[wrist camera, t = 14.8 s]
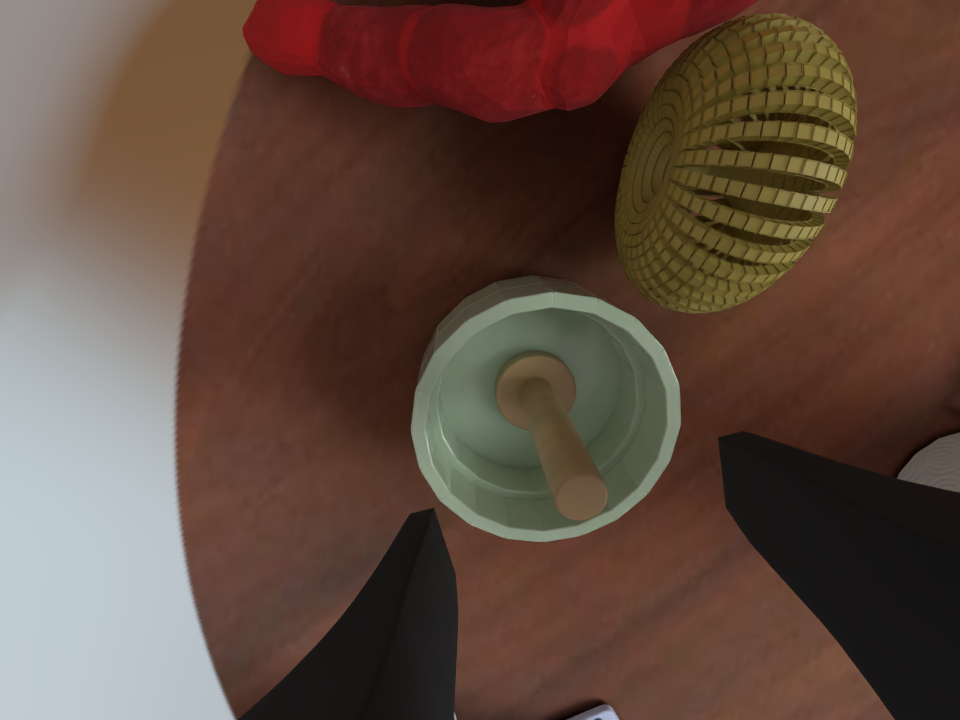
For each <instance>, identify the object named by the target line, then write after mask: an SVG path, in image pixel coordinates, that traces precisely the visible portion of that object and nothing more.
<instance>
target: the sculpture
mask: <svg viewBox="0 0 960 720" xmlns="http://www.w3.org/2000/svg"><path fill="white" fill-rule="evenodd" d="M801 20H803V19H800V18H796V17H795V16H787V14H773V13H763V15H761V14H756V15H753V14H752V15H750V16H747V17H746V16H743V17H740V18H737V19H735V20H733V21H732V20H731V21H728V23H727V22H725V23H724V25H723V24H722V25H721V26H718V27H716V28H715V29H712V30H711V31H710V32H709V33H705V34H706V35H705V34H704V35H703V36H701V37H700V38H699V39H698V40H697V41H695V42H694V43H692V44H691V45H690V46H689V47H688V49H685V50H684V51H683V52H682V53H681V54H680V55H681V56H679V57H678V58H677V59H676V60H675V61H674V62H673V63H672V65H671V67H670V68H668V69H667V71H666V72H665V73H664V75H663V77H662V79H660V81H659V82H658V84H657V87H655V89H654V91H653V92H652V94H651V96H650V98H649V99H648V101H647V103H646V105H645V107H644V109H645V110H643V112H642V113H641V114H642V115H640V116H641V117H639V119H638V121H639V122H638V124H637V126H636V127H635V128H636V129H634V132H633V133H634V134H632V140H630V141H631V142H630V143H629V144H630V145H629V146H628V147H629V148H628V149H627V150H628V151H627V152H628V153H629V155H628V154H627V155H625V157H626V158H625V159H624V162H623V164H624V165H626V167H623V168H622V170H621V175H620V179H621V180H620V182H619V184H618V187H619V188H618V190H617V192H618V194H617V196H616V200H617V202H616V204H615V205H616V208H615V210H616V213H615V241H616V246H617V252H618V255H619V259H620V262H621V264H622V265H623V266H622V268H623V270H624V271H625V273H626V275H627V277H629V278H628V279H630V281H631V283H632V284H633V285H634V286H635V287H636V289H637V290H638V291H639V292H640V293H642V294H643V295H644V296H645V297H646V298H648V299H649V300H650V299H651V300H652V302H653V303H656V304H658V305H660V306H661V307H664V308H668V309H671V310H674V311H678V312H680V311H681V313H693V314H698V313H709V312H718V311H722V310H723V309H724V308H725V309H728V308H732V307H733V306H735V304H736V305H739V304H742V303H744V302H746V301H748V300H750V299H752V298H754V297H756V296H758V295H757V294H759V293H761V292H763V290H764V291H765V289H766V290H767V289H768V288H769V287H771V286H772V285H773V284H774V283H775V282H776V280H777V281H778V280H779V279H780V278H781V277H782V276H783V275H784V274H786V273H787V272H788V271H789V270H790V269H791V268H792V267H793V266H794V265H795V263H796V262H797V260H798V259H799V258H800V257H802V256H803V255H804V254H805V253H804V252H806V251H807V250H808V249H809V247H810V246H811V243H812V242H813V238H814V237H816V236H818V235H817V234H819V233H820V231H821V230H822V228H823V226H824V225H825V222H826V221H825V217H824V216H823V215H822V214H821V213H820V214H821V215H822V216H821V215H820V214H819V212H825V213H831V212H832V210H833V208H834V206H835V204H836V202H837V200H838V199H836V198H832V197H829V196H825V195H821V194H816V193H826V192H834V191H838V190H840V188H841V189H842V188H843V185H844V182H845V179H846V176H847V173H846V172H845V169H846V168H847V166H849V165H848V164H850V162H851V159H852V155H853V151H854V146H853V144H854V138H855V136H856V133H855V129H856V132H857V120H856V116H857V115H856V113H857V101H856V91H855V89H854V86H853V81H854V80H853V76H852V73H851V71H850V69H849V67H848V64H847V61H846V60H845V59H844V57H843V56H842V54H841V53H842V51H841V50H840V48H839V47H838V46H837V45H836V44H835V43H834V42H833V40H832V39H831V38H830V37H829V36H827V35H825V34H824V33H823V30H821V29H820V28H818V27H816V26H814V25H812V23H811V22H809V21H807V20H803V21H801ZM808 22H809V23H808ZM820 30H821V31H820ZM834 44H835V45H836V46H837V47H838V48H837V47H836V46H835V45H834ZM714 61H715V62H714ZM767 69H768V70H767ZM849 71H850V72H849ZM850 73H851V75H850ZM851 76H852V77H851ZM852 80H853V81H852ZM780 87H781V88H780ZM736 92H737V93H736ZM759 92H760V93H759ZM738 95H739V96H741V95H742V96H741V97H742V98H741V97H739V96H738ZM726 100H727V101H726ZM736 117H737V118H739V119H740V118H741V119H742V120H743V121H744V122H743V121H742V120H741V119H740V120H741V121H742V122H739V121H737V118H736ZM735 119H736V120H735ZM736 122H737V123H736ZM715 124H716V125H718V124H719V125H718V126H720V127H718V126H716V125H715ZM709 125H710V126H709ZM713 125H714V126H713ZM708 127H709V128H710V129H709V128H708ZM713 128H714V129H713ZM739 140H740V141H739ZM734 142H736V143H734ZM738 142H739V144H738ZM740 142H741V143H742V144H743V145H742V144H741V143H740ZM712 144H713V145H716V146H718V147H720V148H721V147H722V149H723V148H724V149H723V150H724V151H723V150H708V149H706V150H705V147H709V146H708V145H710V146H713V145H712ZM741 145H742V146H741ZM704 146H705V147H704ZM701 147H702V148H703V149H702V148H701ZM852 147H853V148H852ZM699 149H700V150H699ZM722 151H723V152H722ZM846 165H847V166H846ZM845 167H846V168H845ZM819 191H820V192H819ZM696 194H697V195H696ZM700 195H701V196H700ZM706 195H708V196H712V197H713V196H714V197H723V196H724V197H726V198H725V199H724V198H722V199H721V200H720V199H716V200H715V201H714V200H709V199H707V198H705V197H703V196H706ZM702 197H703V198H702ZM704 198H705V199H704ZM706 199H707V200H706ZM687 212H688V213H689V212H695V213H697V212H698V213H697V214H700V215H701V216H699V217H698V216H695V217H694V216H692V215H691V214H690V213H689V214H690V215H691V216H690V215H689V214H688V213H687ZM702 214H703V215H702ZM708 224H709V225H711V224H712V225H711V226H708ZM707 226H708V227H707ZM679 229H680V230H681V231H680V230H679ZM682 229H683V230H682ZM682 231H683V232H682ZM684 232H685V233H684ZM752 234H753V235H752ZM815 235H816V236H815ZM700 240H701V241H702V242H701V241H700ZM696 242H699V244H698V243H696ZM671 244H672V245H671ZM807 248H808V249H807ZM708 249H709V250H708ZM803 253H804V254H803ZM801 255H802V256H801ZM683 258H684V259H683ZM687 260H688V261H687ZM669 262H670V263H669ZM700 266H702V267H700ZM778 277H779V278H778Z"/></svg>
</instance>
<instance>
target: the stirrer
mask: <svg viewBox="0 0 960 720" xmlns="http://www.w3.org/2000/svg"><path fill="white" fill-rule="evenodd" d="M495 397H496V402H497V405H498V408H499V410H500V412H501V414H502V415H503V416H504V418H505V419H506V420H507V421H509V422H510V423H511V424H513V425H514V426H517V427H519V428H522V429H525V430H530V432H531V435H532V438H533V441H534V444H535V447H536V450H537V453H538V456H539V459H540V462H541V465H542V468H543V471H544V474H545V477H546V480H547V483H548V486H549V489H550V492H551V495H552V498H553V501H554V504H555V507H556V509H557V510H558V511H559V512H560V513H561V514H562V515H563V516H565V517H567V518H569V519H572V520H587V519H590V518H592V517H594V516H596V515H597V514H598V513H600V512H601V511H602V509H603V508H604V507H605V505H606V502H607V499H608V489H607V486H606V484H605V482H604V480H603V478H602V476H601V474H600V473H599V471H598V469H597V467H596V465H595V463H594V462H593V460H592V458H591V456H590V454H589V452H588V451H587V449H586V447H585V445H584V443H583V441H582V440H581V438H580V436H579V434H578V432H577V430H576V429H575V427H574V425H573V423H572V421H571V419H570V418H569V416H568V413H569V412H570V410H571V408H572V406H573V404H574V401H575V397H576V384H575V380H574V377H573V375H572V373H571V372H570V370H569V369H568V367H567V366H566V364H565V363H564V362H563V361H562V360H561V359H560V358H558V357H557V356H555V355H553V354H551V353H549V352H546V351H540V350H531V351H525V352H522V353H519V354H517V355H515V356H513V357H512V358H510V359H509V360H508V361H507V362H506V363H505V364H504V365H503V366H502V368H501V369H500V371H499V373H498V375H497V377H496V381H495Z"/></svg>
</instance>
